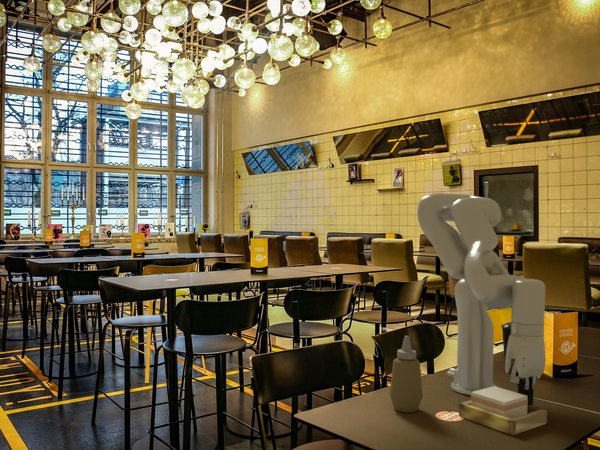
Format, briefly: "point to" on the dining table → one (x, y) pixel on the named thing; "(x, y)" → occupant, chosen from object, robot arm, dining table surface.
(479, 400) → the carton
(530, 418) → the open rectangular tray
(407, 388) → the squeeze bottle
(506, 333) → the drinking cup
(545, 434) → the dining table surface
